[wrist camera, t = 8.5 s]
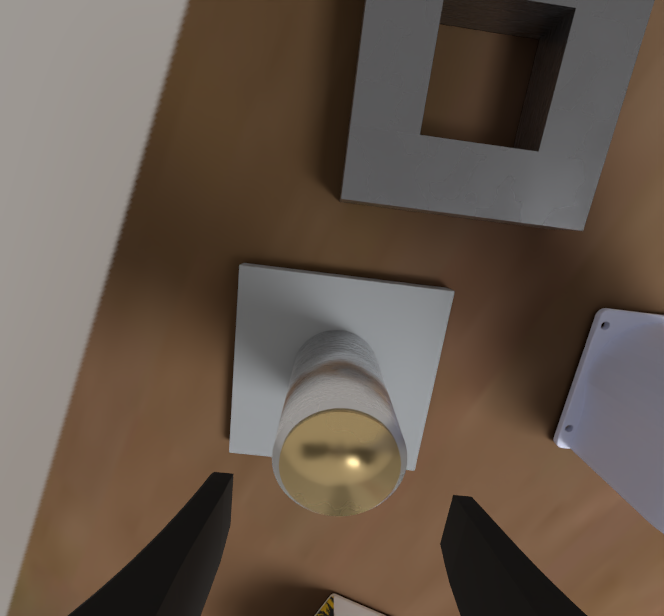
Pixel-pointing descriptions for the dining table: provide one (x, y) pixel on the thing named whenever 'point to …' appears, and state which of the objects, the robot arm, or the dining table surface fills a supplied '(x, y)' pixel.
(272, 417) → the mat
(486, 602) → the robot arm
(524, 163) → the housing
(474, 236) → the dining table surface
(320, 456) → the white gold-topped cylinder
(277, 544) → the dining table surface
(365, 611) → the medicine bottle
